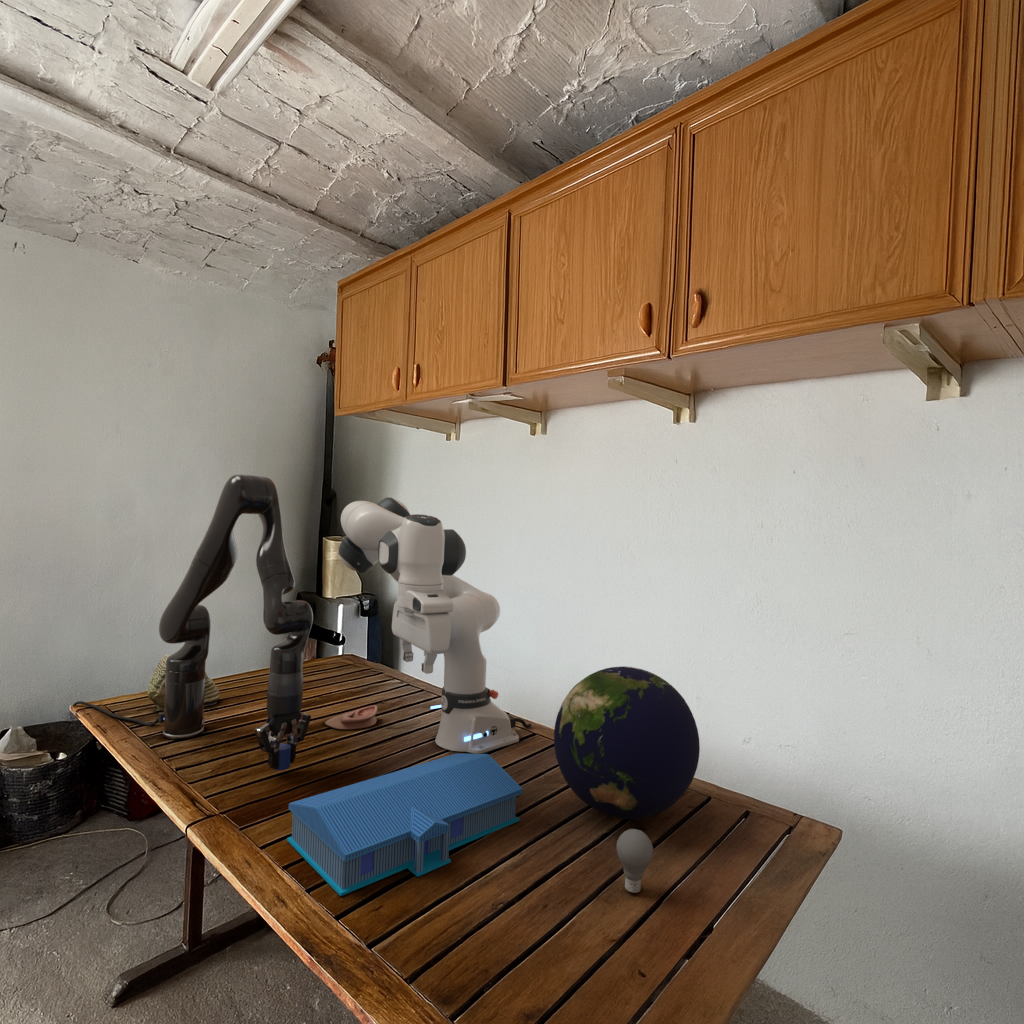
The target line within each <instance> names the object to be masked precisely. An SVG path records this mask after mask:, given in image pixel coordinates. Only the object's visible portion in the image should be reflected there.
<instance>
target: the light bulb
mask: <svg viewBox="0 0 1024 1024" xmlns="http://www.w3.org/2000/svg"><path fill="white" fill-rule="evenodd" d="M615 849H616V854H617V857H618V859H619V861H620V863H621V865H622V867H623V873H624V874H623V875H624V876H625V878H624V888H625V890H627V891H628V892H630V893H634V894H635V893H639V892H640V891H641V889H642V887H641V886H642V879H643V877H644V875H645V871H646V868H647V867H648V866H649V864H650V863H651V861H652V859H653V855H654V847H653V843H652V841H651V838H649V836H648V835H647V834H646V833H645V832H643V831H642V830H641V829H636V828H629V829H627V830H625V831H623V832H622V833H621V834H620V835H619V837H618V839H617V841H616V847H615Z"/></svg>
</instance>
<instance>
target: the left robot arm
mask: <svg viewBox="0 0 1024 1024" xmlns="http://www.w3.org/2000/svg"><path fill="white" fill-rule="evenodd" d="M243 514H244V515H258V517H259V519H260V523H261V526H262V527H261V528H262V533H261V539H260V542H259V545H258V547H257V551H256V557H255V565H256V570H257V573H258V577H259V580H260V584H261V587H262V598H263V599H262V600H263V601H262V603H263V604H262V606H263V608H262V620H263V625H264V627H265V629H266V630H267V631H268V632H269V633H270V634H272V635H273V636H281V635H286V637H284V639H283V640H282V641H279V642H277V643H276V644H274V645H273V646H272V647H271V649H270V655H269V672H268V673H269V674H268V679H267V695H266V711H267V718H266V720H265V723H264V724H263V725H262V726H260V727H259V726H255V728H254V733H255V737H256V740H257V744H258V746H259V750H261V752H265V753H266V754H268V755H267V765H268V767H269V768H270V769H272V770H275V769H277V768H278V761H279V752H278V751H279V747H280V744H282V742H283V740H284V736H285V739H286V744H289V745H291V758H290V764H293V763H295V760H296V757H297V746H298V744H299V743H300V742H304V740H305V738H306V734H307V731H308V729H309V726H310V722H311V720H312V715H311V714H308V713H306V712H302V711H301V710H302V709H303V695H304V653H305V652H304V651H305V648H306V645H307V644H308V643H307V642H308V639H309V636H310V632H311V629H312V626H313V621H314V613H313V609H312V607H311V605H310V604H309V603H308V602H307V601H306V600H303V599H302V600H301V599H298V600H290V601H289V600H288V601H283V595H286V594H288V593H290V592H291V591H294V589H295V587H296V581H295V577H294V573H293V571H292V566H291V563H290V561H289V557H288V553H287V550H286V543H285V539H284V531H283V521H282V514H281V505H280V499H279V494H278V489H277V486H276V484H275V482H274V481H273V480H272V479H271V478H269V477H267V476H263V475H251V474H234V475H232V476H229V478H228V479H227V481H226V482H225V483H224V485H223V488H222V490H221V493H220V495H219V498H218V501H217V504H216V506H215V510H214V513H213V516H212V518H211V520H210V524H209V526H208V528H207V530H206V532H205V534H204V536H203V538H202V540H201V543H200V544H199V547H198V548H197V550H196V552H195V554H194V556H193V558H192V560H191V562H190V565H189V567H188V569H187V571H186V574H185V575H184V577H183V579H182V581H181V583H180V585H179V587H178V589H177V590H176V591H175V594H174V595H173V597H172V598H171V600H170V601H169V603H168V604H167V605H166V607H165V609H164V610H163V612H162V613H161V616H160V619H159V623H158V634H159V637H160V639H161V640H162V641H163V642H164V643H166V644H170V645H172V644H173V645H174V644H175V645H177V644H183V643H184V644H183V645H182V646H181V647H180V649H178V650H177V651H175V652H173V653H172V654H169V655H170V656H169V657H168V658H167V660H166V674H165V705H164V710H163V711H160V712H159V711H158V713H157V714H158V716H157V718H156V719H155V720H154V721H152V722H145V721H142V720H140V719H137V718H133V717H127V716H122V715H118V714H115V713H113V712H110V711H108V710H107V709H104V708H102V707H100V706H99V705H95V704H92V703H90V702H87V701H79V700H78V701H76V702H74V703H73V704H72V705H71V706H72V707H76V706H78V705H84V706H87V707H89V708H94V709H97V710H98V711H100V712H101V713H103V714H106V715H108V716H110V717H112V718H115V719H119V720H124V721H128V722H134V723H137V724H140V725H141V726H147V727H151V726H155V725H156V724H157V723H160V724H163V730H162V737H164V738H166V739H169V740H185V739H190V738H191V739H192V738H194V737H197V736H199V735H202V734H203V732H204V730H205V729H204V727H205V725H204V724H205V722H206V717H205V706H204V693H205V672H206V664H207V663H206V662H207V658H208V655H209V651H210V650H209V649H210V637H211V628H212V627H211V626H212V621H211V614H210V612H209V610H208V608H207V607H206V606H205V605H203V604H200V603H201V602H203V601H204V600H205V599H207V597H209V596H210V595H212V594H213V593H214V592H216V591H217V590H218V589H219V588H220V587H221V586H222V585H223V584H224V583H225V582H226V581H227V580H228V578H229V577H230V575H231V573H232V571H233V569H234V567H235V566H236V563H237V560H238V556H239V554H238V553H239V552H238V547H237V542H236V539H235V536H234V529H235V526H236V524H237V521H238V520H239V518H240V516H242V515H243ZM275 771H276V770H275Z"/></svg>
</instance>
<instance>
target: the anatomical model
mask: <svg viewBox="0 0 1024 1024" xmlns="http://www.w3.org/2000/svg"><path fill="white" fill-rule="evenodd" d="M377 713H378V706H377V705H375V704H374V705H369V706H368V705H367V706H366V707H361V708H358V709H355V710H351V711H349V712H346V713H343V714H339V715H336V716H334V717H331V718H329V719H327V720H326V721H325V722H324V724H325V725H326V726H328V727H330V728H333V729H337V730H356V729H357V730H358V729H363V728H369V727H372V726H374V725H376V723H377V721H378V719H377V717H376V715H377Z"/></svg>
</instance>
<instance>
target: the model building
mask: <svg viewBox="0 0 1024 1024" xmlns="http://www.w3.org/2000/svg"><path fill="white" fill-rule="evenodd" d="M523 789H524V788H523V787H522V786H521V785H520V784H519V783H517V781H516V780H515V779H514V778H512V776H511V775H510V774H509V773H508V772H507V771H506V770H505V769H504V768H503V767H502V766H501V765H500V764H499V763H498V762H497V761H496V760H495V759H494V758H493V757H492V756H491V755H490V754H489V753H481V754H473V753H457V752H456V753H454V754H453V753H452V754H451V755H447V756H443V757H441V758H437V759H433V760H429V761H427V762H423V763H420V764H417V765H413V766H410V767H407V768H402V769H399V770H396V771H393V772H390V773H386V774H383V775H379V776H376V777H373V778H369V779H366V780H363V781H359V782H355V783H353V784H350V785H346V786H342V787H339V788H336V789H332V790H328V791H325V792H322V793H319V794H315V795H312V796H309V797H305V798H302V799H299V800H295V801H292V802H289V803H288V810H289V811H290V812H291V813H292V822H291V823H292V824H291V825H292V826H291V836H289V837H288V836H287V837H286V841H287V842H288V843H289V844H290V845H291V847H292V848H293V849H294V850H295V851H296V852H297V853H299V854H300V856H301V857H302V858H303V859H304V860H305V861H306V863H308V865H310V866H311V868H312V869H314V871H316V872H317V874H318V875H319V876H320V877H321V878H322V879H323V880H324V881H325V883H327V884H328V885H329V886H330V887H331V888H332V890H333V891H334V892H336V894H338V895H339V897H342V896H345V895H347V894H350V893H352V892H354V891H357V890H359V889H362V888H364V887H366V886H369V885H371V884H373V883H376V882H378V881H381V880H383V879H385V878H387V877H390V876H392V875H395V874H397V873H400V872H402V871H404V870H406V869H407V870H408V871H410V872H411V873H412V874H413V875H415V876H416V877H421V876H423V875H426V874H428V873H429V872H432V871H435V870H437V869H439V868H441V867H444V866H446V865H448V864H450V863H451V862H452V859H451V858H449V855H450V853H449V852H450V851H451V850H454V849H456V848H459V847H461V846H463V845H466V844H468V843H471V842H473V841H475V840H478V839H480V838H481V837H485V836H488V835H489V834H492V833H494V832H497V831H499V830H501V829H503V828H506V827H509V826H510V825H513V824H516V823H518V822H520V818H519V817H518V816H516V815H517V813H516V810H517V797H518V796H520V795H522V794H523V791H524V790H523Z"/></svg>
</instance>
